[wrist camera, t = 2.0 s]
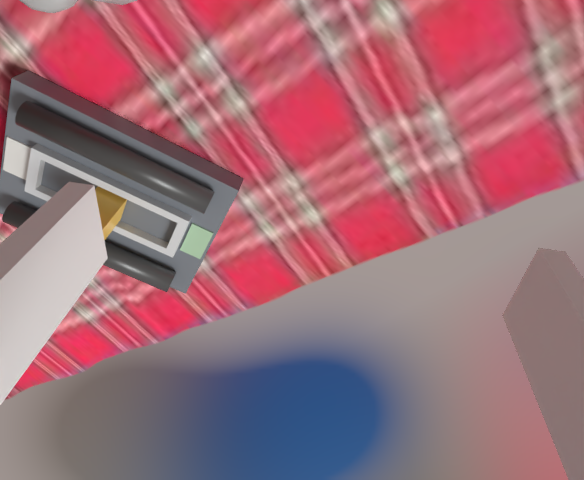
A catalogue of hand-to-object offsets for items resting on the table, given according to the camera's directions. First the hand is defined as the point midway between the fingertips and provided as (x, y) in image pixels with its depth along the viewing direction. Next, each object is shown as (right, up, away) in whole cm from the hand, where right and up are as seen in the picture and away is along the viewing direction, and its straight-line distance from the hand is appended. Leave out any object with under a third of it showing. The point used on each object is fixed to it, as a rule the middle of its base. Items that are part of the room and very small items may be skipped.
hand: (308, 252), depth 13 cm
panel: (-19, +6, +34) cm, 39 cm away
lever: (-19, +4, +31) cm, 37 cm away
